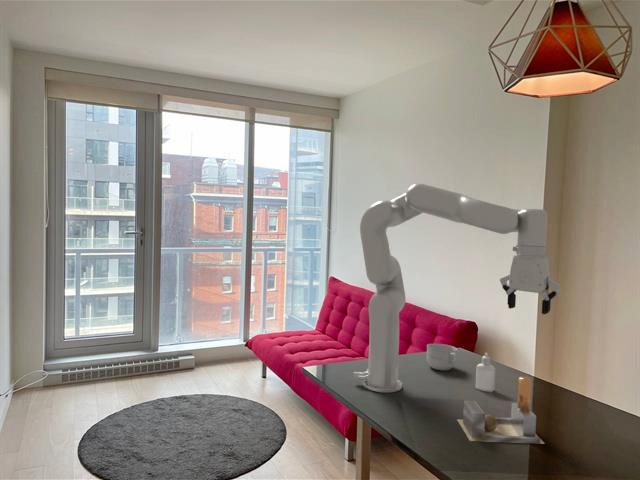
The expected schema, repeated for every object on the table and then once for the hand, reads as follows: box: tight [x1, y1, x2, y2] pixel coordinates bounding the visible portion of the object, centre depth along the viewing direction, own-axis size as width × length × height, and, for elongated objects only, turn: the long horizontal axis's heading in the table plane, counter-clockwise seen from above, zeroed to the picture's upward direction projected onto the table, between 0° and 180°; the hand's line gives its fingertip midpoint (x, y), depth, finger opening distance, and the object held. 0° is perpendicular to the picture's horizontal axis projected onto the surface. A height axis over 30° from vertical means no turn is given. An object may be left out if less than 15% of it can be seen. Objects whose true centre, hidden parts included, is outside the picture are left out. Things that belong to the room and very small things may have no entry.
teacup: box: [426, 343, 459, 371], centre depth 174 cm, size 14×11×8 cm
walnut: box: [484, 414, 498, 431], centre depth 123 cm, size 4×4×4 cm
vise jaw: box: [510, 375, 537, 437], centre depth 122 cm, size 3×8×14 cm, turn 179°
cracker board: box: [456, 400, 545, 445], centre depth 122 cm, size 18×12×8 cm, turn 89°
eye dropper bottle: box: [475, 352, 496, 393], centre depth 155 cm, size 4×6×12 cm
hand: (528, 310), depth 139 cm, fingers open, 9 cm apart
